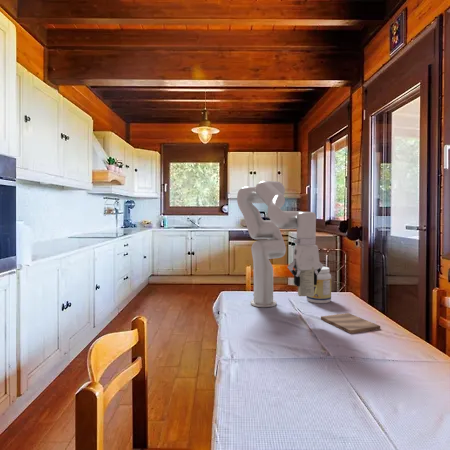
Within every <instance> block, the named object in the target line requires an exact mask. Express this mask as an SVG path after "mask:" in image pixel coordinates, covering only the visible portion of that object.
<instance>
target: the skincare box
mask: <svg viewBox="0 0 450 450" xmlns="http://www.w3.org/2000/svg"><path fill="white" fill-rule="evenodd" d="M299 277H300V286H297V295H298V297H306V296H314V267H312V270H307V271H301V272H300V274H299Z"/></svg>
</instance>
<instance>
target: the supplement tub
mask: <svg viewBox="0 0 450 450" xmlns="http://www.w3.org/2000/svg"><path fill="white" fill-rule="evenodd" d="M330 272H331V271H330V267H327V266H323V267H322V269H321V271H320V272H319V274H318V275H317V285H314V296H305V297H306V300H307V301H308V302H311V303H314V304H327V303H330V302H331V301H332V274H331V273H330Z"/></svg>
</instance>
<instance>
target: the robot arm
mask: <svg viewBox="0 0 450 450" xmlns="http://www.w3.org/2000/svg"><path fill="white" fill-rule="evenodd" d="M285 192H286V189H285V186H284V185H283V183H282V182H280V181H275V180H273V181H272V180H262V181H260V182H258V183H257V184H256V185H255V186H244V187H241V188H239V190H238V192H237V195H236V200H237V202H236V203H237V205H238V208H239V210H240V212H241V214H242V216H243V219H244V222H245V225H246V228H247V232H248V234H249V237H250V238H251V239H252V240H253V239H254V240H255V241H254V242H253V243H252V245H251V248H250V250H251V256H252V261H253V262H252V264H253V267H252V268H253V294H252V295H253V299H251V301H250V305H251V306H254V307H257V308H258V307H259V308H271V307H275V306H277V301H276V300H274V267H273V264H272V263H271V261H270V260H271V259H279V258H283V257H284V256H285V255H286V252H287V248H286V243H285V240H284V237H283V234H282V232H281V230H290V229H293V230H294V229H295V230H296V239H294V240H293V241H294V242H293V243H295V244H296V245H295V246H294V251H293V257H292V258H293V259H292V261H291V262H290V264H288V266H287V269H288V270H289V272H290V273H291V274H292V275H293V283H294V286H296V287H298V286H300V277H299V274H300V272H301V271H307V270H312V267H314V285H317V275H318V274H319V272H320V271H321V269H322V267H324V263H322V262H321V261H320V251H319V245H316V242H317V240H316V239H317V238H316V237H317V235H316V234H317V231H316V229H317V227H316V226H317V225H316V224H317V214H316V213H315V212H313V211H301V210H298V211H297V210H282V209H281V208H283V206H284V205H285V202H286V199H285V196H284V195H285ZM254 204H265V205H266V206H267V214H268V218H269V219H267V220H264V219H263V218H262V216H261V211H259V209H258V208H257V207H256V206H255V205H254Z"/></svg>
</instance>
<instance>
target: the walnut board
mask: <svg viewBox="0 0 450 450" xmlns="http://www.w3.org/2000/svg"><path fill="white" fill-rule="evenodd" d="M320 320H321V321H323V322H325V323H328V324H330V325H332V326H333V327H336V328H338V329H339V330H342V331H344V332H346V333H348V334H350V335H352V334H357V333H362V332H363V333H364V332H369V331H370V330H371V331H375V329H378V330H381V325H379V324H377V323H374V322H372V321H369V320H366V319H364V318H362V317H359V316H357V315H354V314H352V313H349V312H346V313H337V314H331V315H329V314H328V315H324V316H323V315H321V316H320ZM371 331H370V332H371Z"/></svg>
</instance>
